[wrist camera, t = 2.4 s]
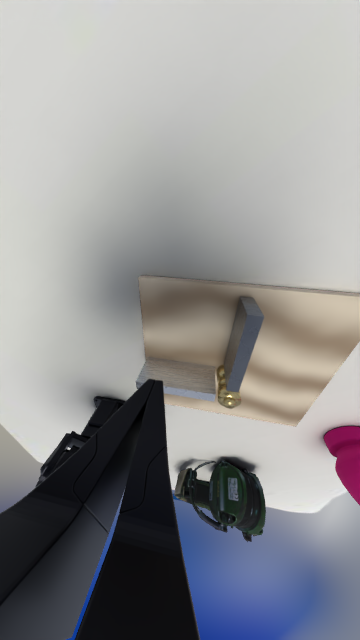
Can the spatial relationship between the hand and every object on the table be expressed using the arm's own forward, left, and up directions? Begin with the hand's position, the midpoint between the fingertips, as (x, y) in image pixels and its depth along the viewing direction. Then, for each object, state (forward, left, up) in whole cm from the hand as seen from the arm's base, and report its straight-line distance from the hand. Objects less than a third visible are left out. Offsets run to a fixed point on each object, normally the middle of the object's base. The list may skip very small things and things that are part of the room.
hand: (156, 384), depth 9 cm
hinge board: (-7, -7, -10) cm, 14 cm away
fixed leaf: (-8, -2, -9) cm, 12 cm away
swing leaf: (-3, -6, -9) cm, 11 cm away
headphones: (-41, -10, -11) cm, 44 cm away
